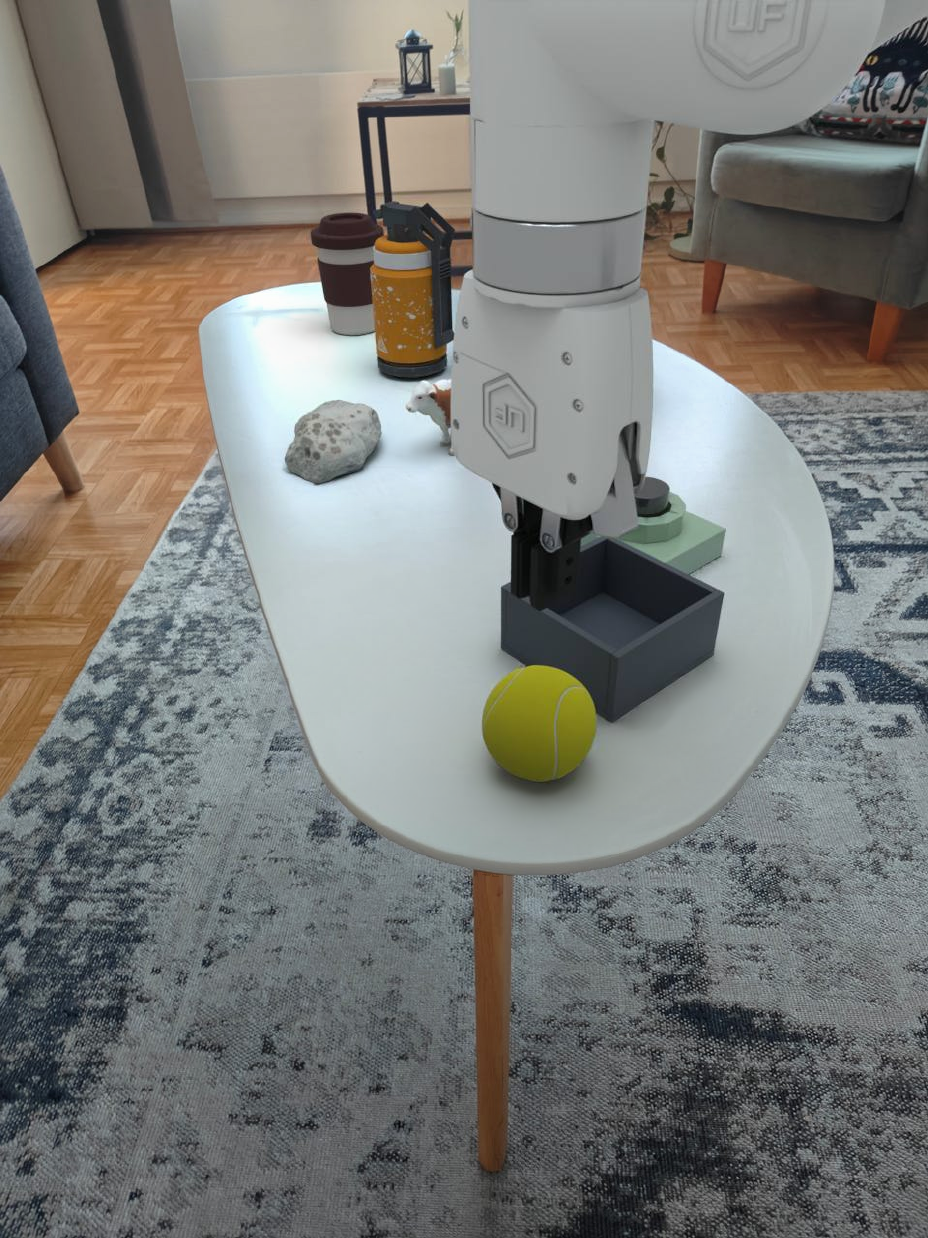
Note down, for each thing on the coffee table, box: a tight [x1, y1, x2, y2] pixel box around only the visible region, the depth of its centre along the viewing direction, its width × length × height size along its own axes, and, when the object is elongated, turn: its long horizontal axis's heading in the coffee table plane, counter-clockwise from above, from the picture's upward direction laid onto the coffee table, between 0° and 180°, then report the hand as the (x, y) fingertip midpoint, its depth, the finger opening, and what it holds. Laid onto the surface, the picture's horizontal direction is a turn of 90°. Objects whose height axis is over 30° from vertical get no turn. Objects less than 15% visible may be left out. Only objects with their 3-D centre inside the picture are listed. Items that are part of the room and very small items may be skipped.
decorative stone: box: [284, 399, 383, 485], centre depth 94 cm, size 12×11×5 cm
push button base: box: [581, 491, 727, 575], centre depth 78 cm, size 11×9×4 cm
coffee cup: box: [310, 212, 385, 336], centre depth 126 cm, size 10×10×15 cm
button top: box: [634, 476, 671, 518], centre depth 76 cm, size 4×4×2 cm
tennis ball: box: [481, 665, 597, 783], centre depth 56 cm, size 7×7×7 cm
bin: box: [500, 536, 725, 723], centre depth 66 cm, size 11×11×6 cm
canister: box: [370, 200, 456, 379], centre depth 110 cm, size 9×11×20 cm
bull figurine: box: [405, 378, 455, 456], centre depth 96 cm, size 4×13×8 cm, turn 139°
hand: (544, 593), depth 50 cm, fingers closed
